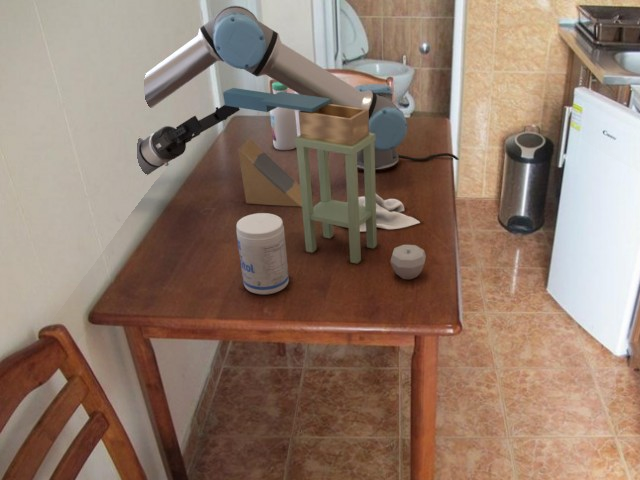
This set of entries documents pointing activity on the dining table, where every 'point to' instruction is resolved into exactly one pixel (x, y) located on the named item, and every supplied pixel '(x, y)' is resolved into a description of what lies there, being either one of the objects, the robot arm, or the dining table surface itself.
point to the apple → (408, 261)
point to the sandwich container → (266, 179)
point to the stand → (335, 210)
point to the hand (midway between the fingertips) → (217, 113)
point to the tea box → (335, 124)
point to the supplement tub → (262, 253)
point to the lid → (272, 100)
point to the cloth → (389, 214)
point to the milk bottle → (283, 123)
